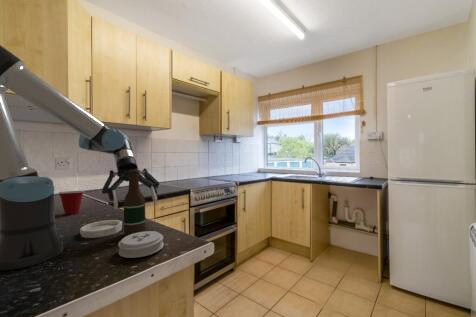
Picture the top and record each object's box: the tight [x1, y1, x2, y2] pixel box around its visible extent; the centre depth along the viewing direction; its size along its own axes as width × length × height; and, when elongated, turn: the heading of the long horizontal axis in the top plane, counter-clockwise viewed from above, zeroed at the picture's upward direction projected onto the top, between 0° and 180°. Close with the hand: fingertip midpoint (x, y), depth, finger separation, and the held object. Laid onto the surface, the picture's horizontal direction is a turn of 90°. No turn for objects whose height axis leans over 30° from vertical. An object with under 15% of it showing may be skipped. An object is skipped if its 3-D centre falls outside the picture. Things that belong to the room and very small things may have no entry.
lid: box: [117, 230, 164, 259], centre depth 68 cm, size 13×13×5 cm
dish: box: [79, 219, 123, 239], centre depth 86 cm, size 14×14×2 cm
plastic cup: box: [58, 190, 85, 216], centre depth 115 cm, size 11×11×12 cm
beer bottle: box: [123, 170, 147, 237], centre depth 83 cm, size 8×8×24 cm
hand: (137, 204), depth 81 cm, fingers open, 13 cm apart
